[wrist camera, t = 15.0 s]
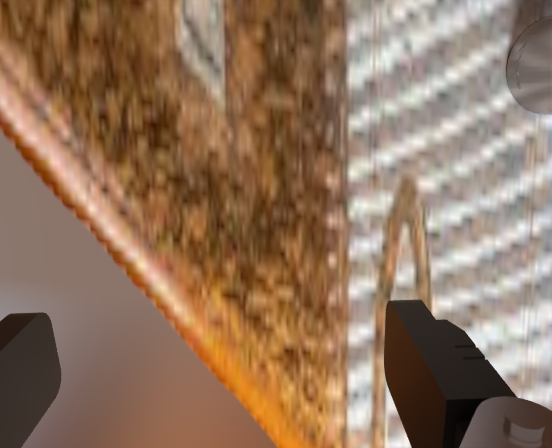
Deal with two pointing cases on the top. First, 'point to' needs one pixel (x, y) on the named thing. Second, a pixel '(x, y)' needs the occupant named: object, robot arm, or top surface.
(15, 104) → the top surface
